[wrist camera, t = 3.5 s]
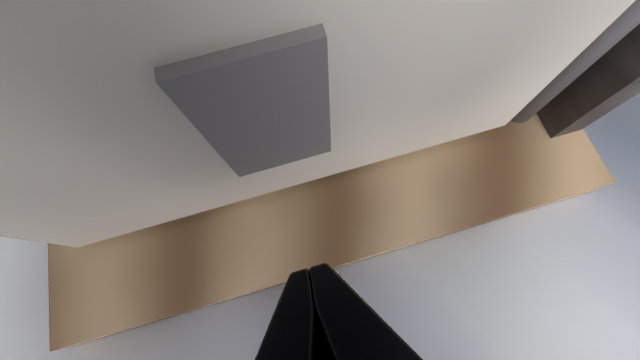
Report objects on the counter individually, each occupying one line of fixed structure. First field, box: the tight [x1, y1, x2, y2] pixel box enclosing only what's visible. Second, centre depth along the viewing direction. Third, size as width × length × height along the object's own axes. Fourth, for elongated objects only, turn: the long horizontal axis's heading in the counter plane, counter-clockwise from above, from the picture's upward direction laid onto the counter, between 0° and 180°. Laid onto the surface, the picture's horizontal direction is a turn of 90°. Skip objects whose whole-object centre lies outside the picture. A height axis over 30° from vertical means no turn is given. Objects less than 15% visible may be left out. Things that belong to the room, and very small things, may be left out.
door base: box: [48, 24, 640, 351], centre depth 10 cm, size 23×8×10 cm, turn 106°
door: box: [0, 0, 640, 248], centre depth 8 cm, size 20×1×11 cm, turn 106°
